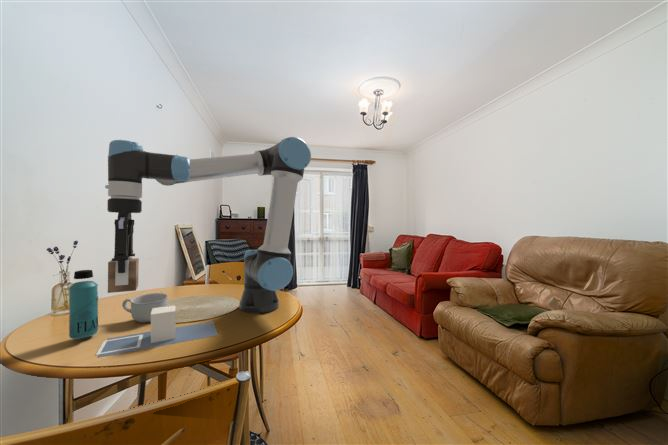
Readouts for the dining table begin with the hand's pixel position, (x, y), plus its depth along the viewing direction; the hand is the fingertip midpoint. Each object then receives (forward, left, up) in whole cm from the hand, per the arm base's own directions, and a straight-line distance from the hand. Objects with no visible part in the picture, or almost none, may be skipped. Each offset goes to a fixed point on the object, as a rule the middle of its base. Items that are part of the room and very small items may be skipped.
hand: (123, 282), depth 77 cm
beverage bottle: (+11, -10, -18) cm, 23 cm away
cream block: (-9, 0, -17) cm, 20 cm away
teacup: (-3, -20, -18) cm, 27 cm away
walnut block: (0, 0, -2) cm, 2 cm away
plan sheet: (-9, 0, -17) cm, 20 cm away
